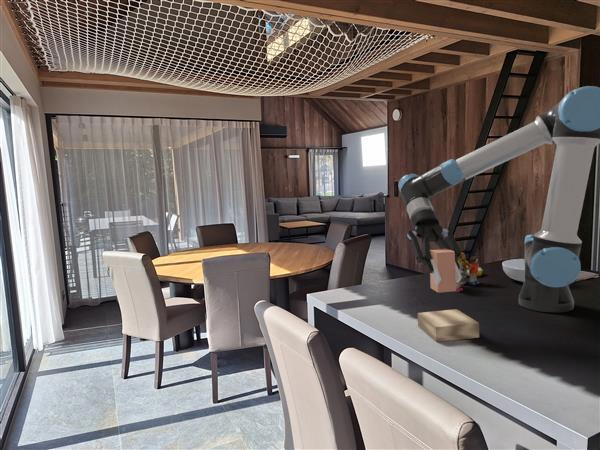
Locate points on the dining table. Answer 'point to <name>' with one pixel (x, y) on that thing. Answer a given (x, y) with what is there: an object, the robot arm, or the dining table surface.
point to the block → (444, 270)
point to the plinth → (448, 325)
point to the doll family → (463, 269)
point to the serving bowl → (515, 269)
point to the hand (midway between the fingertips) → (448, 280)
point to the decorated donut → (476, 274)
